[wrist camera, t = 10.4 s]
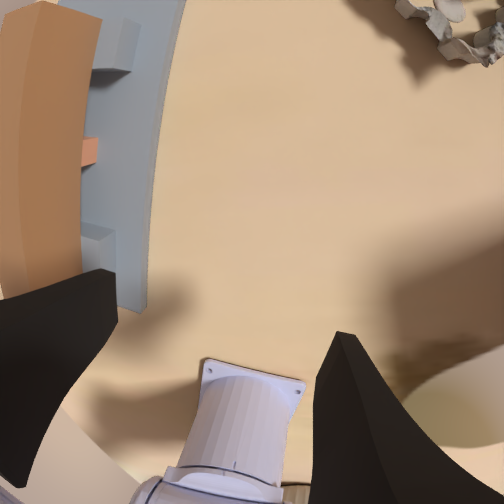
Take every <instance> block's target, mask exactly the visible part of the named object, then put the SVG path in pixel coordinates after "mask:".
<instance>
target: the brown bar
mask: <svg viewBox="0 0 504 504" xmlns="http://www.w3.org/2000/svg"><path fill="white" fill-rule="evenodd" d="M102 21H103V19H100V18H97V17H94V16H91V15H88V14H85V13H82V12H79V11H76V10H73V9H70V8H67V7H63V6H60V5H57V4H53V3H49V2H46V1H39V2H36V3H33V4H31V5H28V6H26V7H22V8H20V9H17V10H15V11H12V12H10V13H7V14H5V17H4V20H3V24H2V28H1V32H0V283H1V288H2V292H3V296H4V299H7V298H11V297H15V296H18V295H21V294H25V293H28V292H31V291H34V290H37V289H40V288H43V287H46V286H49V285H52V284H54V283H57V282H60V281H63V280H65V279H68V278H71V277H74V276H77V275H80V274H82V273H83V267H82V252H81V227H80V185H81V161H82V145H83V133H84V123H85V114H86V105H87V98H88V91H89V84H90V78H91V72H92V67H93V61H94V56H95V51H96V46H97V42H98V37H99V33H100V29H101V25H102Z"/></svg>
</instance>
